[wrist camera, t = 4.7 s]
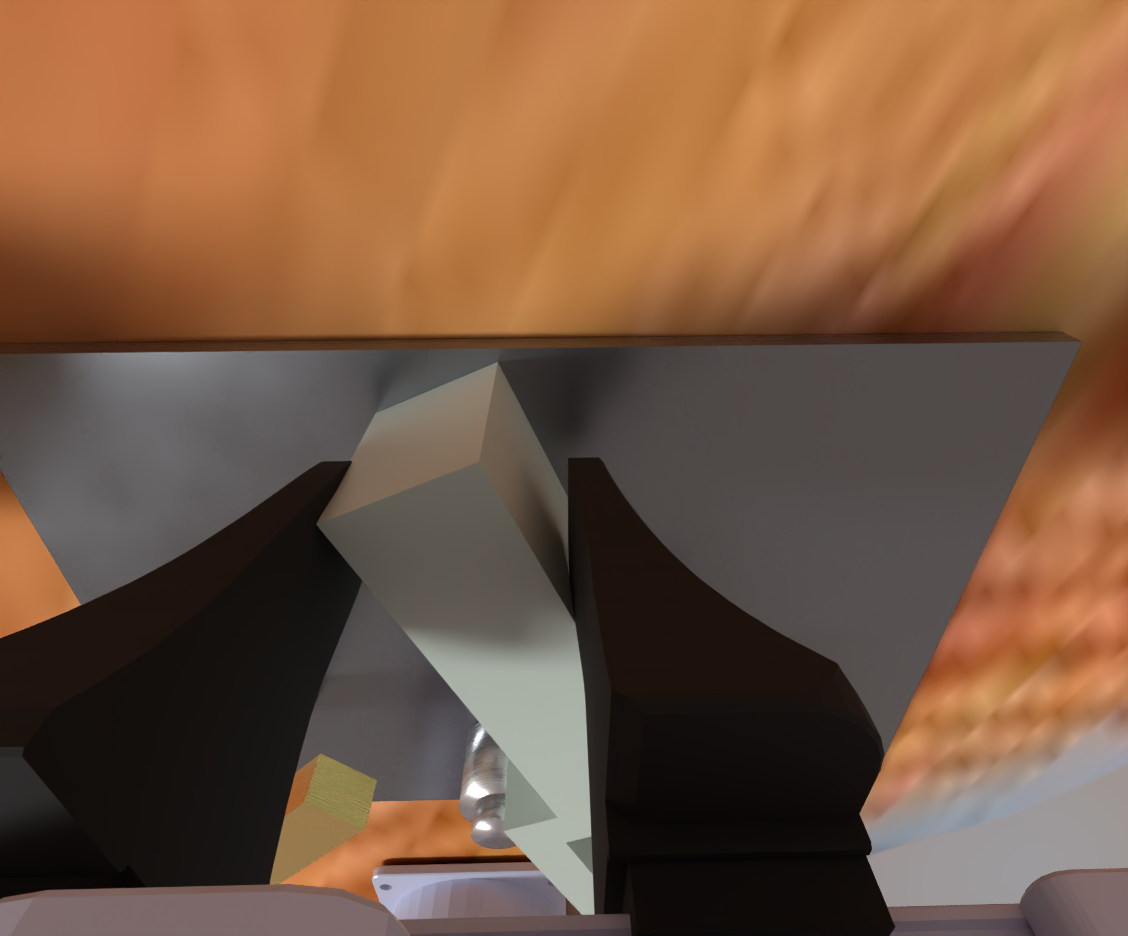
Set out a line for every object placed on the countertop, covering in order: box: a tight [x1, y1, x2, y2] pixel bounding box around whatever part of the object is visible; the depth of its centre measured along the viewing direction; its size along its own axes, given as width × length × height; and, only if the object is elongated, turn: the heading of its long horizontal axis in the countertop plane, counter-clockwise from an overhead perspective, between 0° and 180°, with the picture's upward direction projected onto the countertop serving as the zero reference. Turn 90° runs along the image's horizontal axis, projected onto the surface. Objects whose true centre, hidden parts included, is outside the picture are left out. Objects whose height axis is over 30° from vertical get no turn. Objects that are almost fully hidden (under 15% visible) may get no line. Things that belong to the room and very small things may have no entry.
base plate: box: [0, 332, 1082, 801], centre depth 17 cm, size 17×24×1 cm
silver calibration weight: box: [459, 723, 516, 849], centre depth 19 cm, size 2×2×4 cm
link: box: [316, 362, 594, 915], centre depth 15 cm, size 16×6×4 cm, turn 23°
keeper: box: [269, 698, 377, 885], centre depth 15 cm, size 2×6×6 cm, turn 134°
